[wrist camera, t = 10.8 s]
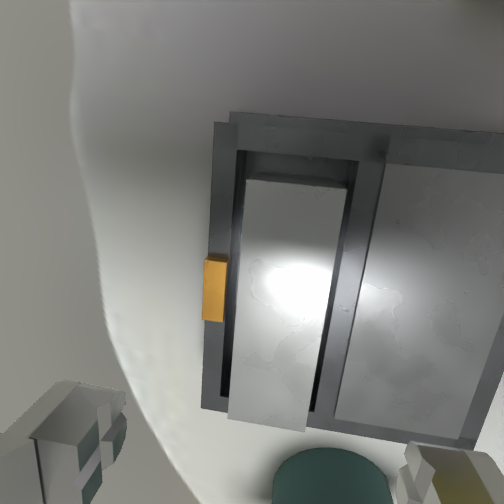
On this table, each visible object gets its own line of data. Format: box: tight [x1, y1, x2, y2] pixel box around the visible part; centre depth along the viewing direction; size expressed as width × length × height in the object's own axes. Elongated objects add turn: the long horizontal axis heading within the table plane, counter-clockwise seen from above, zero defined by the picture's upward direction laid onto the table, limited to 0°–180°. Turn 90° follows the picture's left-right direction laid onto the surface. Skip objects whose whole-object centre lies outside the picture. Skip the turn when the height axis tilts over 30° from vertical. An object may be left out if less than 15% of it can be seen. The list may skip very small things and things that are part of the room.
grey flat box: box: [201, 112, 504, 451], centre depth 16 cm, size 16×14×4 cm
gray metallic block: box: [227, 171, 347, 432], centre depth 16 cm, size 11×4×5 cm, turn 175°
